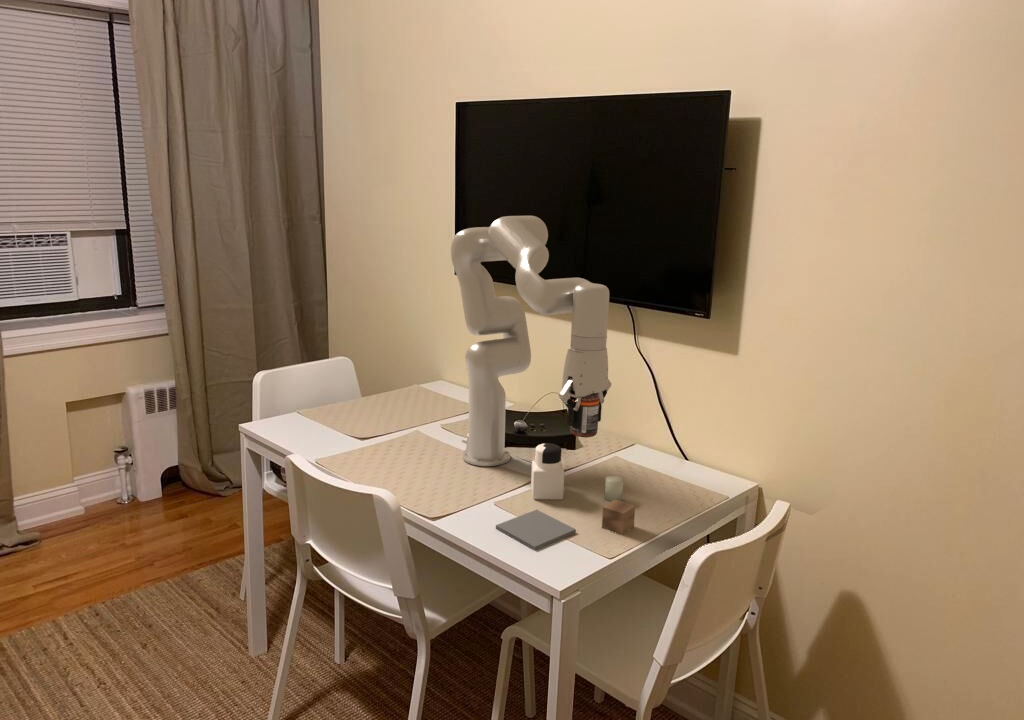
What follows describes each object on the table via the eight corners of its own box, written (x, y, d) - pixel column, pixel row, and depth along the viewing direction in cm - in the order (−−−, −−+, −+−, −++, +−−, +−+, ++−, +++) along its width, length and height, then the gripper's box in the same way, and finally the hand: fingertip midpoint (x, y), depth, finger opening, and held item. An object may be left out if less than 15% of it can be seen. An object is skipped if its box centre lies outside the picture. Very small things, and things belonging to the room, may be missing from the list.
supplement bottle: (565, 430, 166) (567, 381, 163) (589, 427, 168) (592, 379, 165) (577, 439, 161) (580, 389, 158) (602, 436, 163) (605, 386, 160)
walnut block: (601, 528, 162) (603, 506, 161) (613, 520, 166) (615, 499, 165) (622, 535, 160) (623, 513, 158) (633, 527, 163) (635, 505, 162)
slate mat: (495, 528, 161) (495, 525, 161) (536, 512, 169) (536, 509, 168) (534, 550, 152) (534, 546, 152) (575, 532, 160) (575, 529, 160)
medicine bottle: (560, 487, 182) (562, 440, 179) (563, 500, 175) (565, 451, 172) (530, 487, 182) (532, 440, 179) (532, 499, 175) (534, 451, 172)
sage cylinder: (601, 498, 177) (602, 478, 175) (612, 494, 179) (613, 474, 178) (614, 504, 174) (615, 484, 173) (625, 499, 176) (626, 480, 175)
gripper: (602, 334, 168) (597, 411, 172) (546, 344, 156) (543, 426, 161) (628, 340, 162) (623, 419, 167) (573, 351, 151) (568, 436, 156)
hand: (584, 422), depth 164 cm, fingers closed on supplement bottle, 6 cm apart
